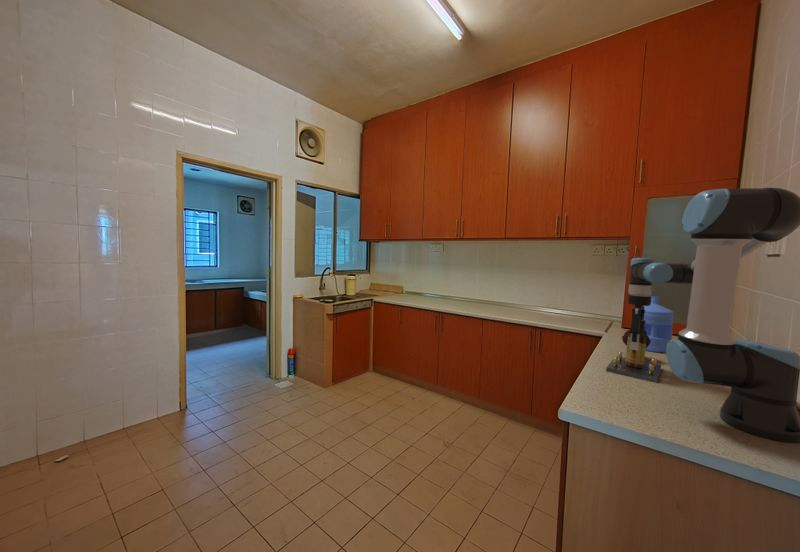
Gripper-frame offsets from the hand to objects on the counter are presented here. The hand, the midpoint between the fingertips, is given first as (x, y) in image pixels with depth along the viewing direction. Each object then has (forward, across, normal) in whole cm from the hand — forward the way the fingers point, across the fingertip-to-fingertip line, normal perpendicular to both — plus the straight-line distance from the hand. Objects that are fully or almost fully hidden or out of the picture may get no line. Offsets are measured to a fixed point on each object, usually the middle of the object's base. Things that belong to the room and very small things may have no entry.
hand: (635, 346), depth 128 cm
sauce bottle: (+8, 0, 0) cm, 8 cm away
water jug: (+10, +49, -2) cm, 50 cm away
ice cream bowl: (+10, +21, +2) cm, 23 cm away
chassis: (+10, 0, 0) cm, 10 cm away
